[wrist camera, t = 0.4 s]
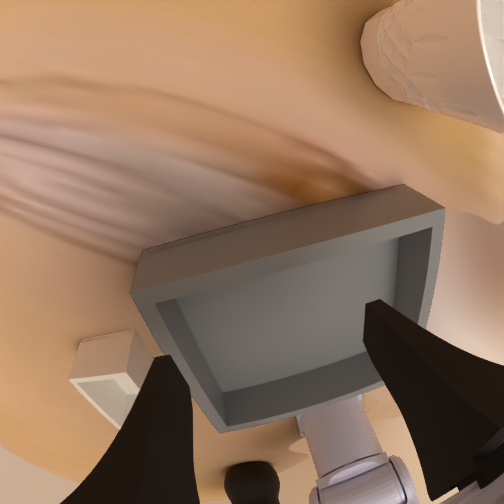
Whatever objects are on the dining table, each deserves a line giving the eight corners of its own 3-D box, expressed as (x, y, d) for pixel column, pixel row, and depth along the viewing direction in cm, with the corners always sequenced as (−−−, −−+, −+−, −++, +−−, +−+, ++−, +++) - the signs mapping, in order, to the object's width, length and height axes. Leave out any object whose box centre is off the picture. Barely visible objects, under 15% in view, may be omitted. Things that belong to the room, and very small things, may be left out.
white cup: (329, 62, 14) (454, 45, 5) (379, -18, 11) (491, -56, 3) (417, 134, 17) (536, 179, 8) (456, 56, 14) (566, 69, 5)
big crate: (391, 340, 26) (412, 372, 23) (214, 393, 26) (219, 433, 22) (404, 184, 18) (445, 207, 15) (143, 250, 18) (129, 292, 14)
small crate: (173, 386, 25) (173, 427, 21) (126, 393, 25) (121, 431, 21) (134, 327, 21) (126, 372, 17) (82, 337, 21) (68, 379, 17)
